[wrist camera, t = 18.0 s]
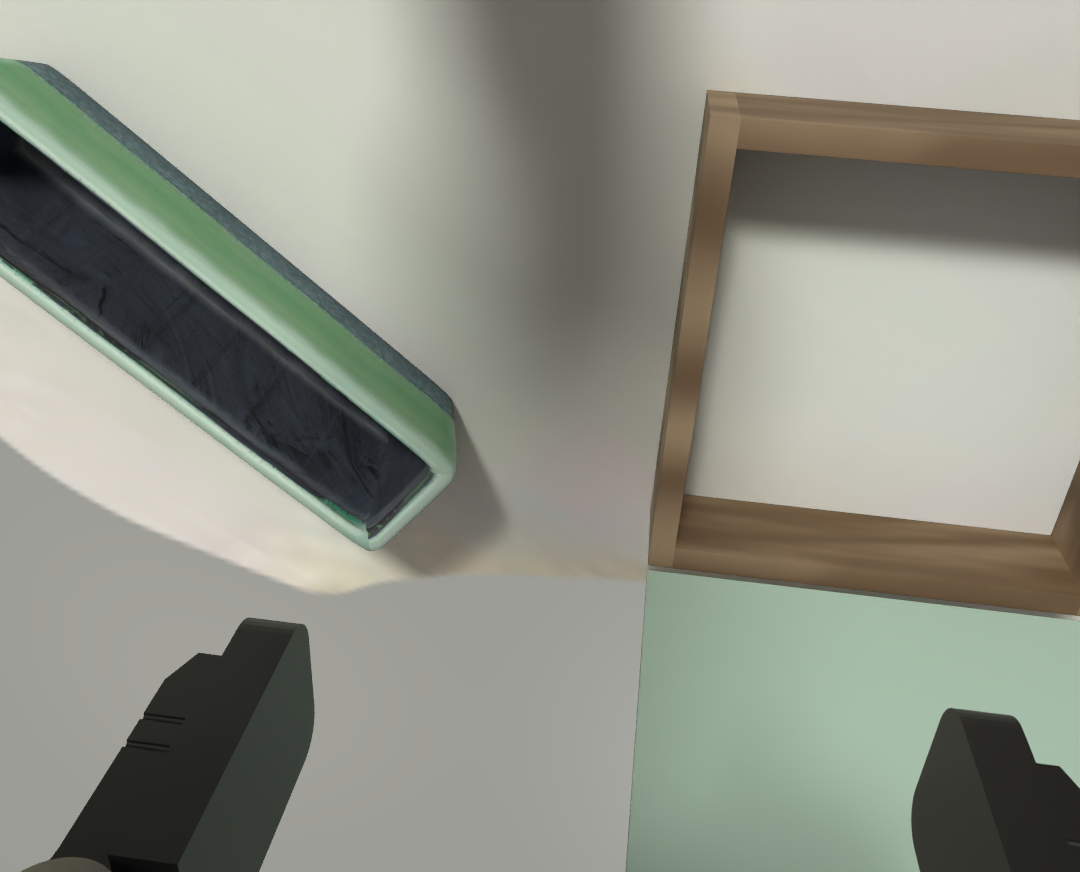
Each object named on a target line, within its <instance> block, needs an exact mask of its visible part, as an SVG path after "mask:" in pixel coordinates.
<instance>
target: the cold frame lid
mask: <svg viewBox="0 0 1080 872" xmlns="http://www.w3.org/2000/svg"><path fill="white" fill-rule="evenodd" d="M644 609H645V610H644V622H643V637H642V650H641V664H640V679H639V692H638V693H639V694H638V706H637V720H636V734H635V748H634V762H633V776H632V777H633V778H632V790H631V804H630V818H629V832H628V845H627V847H628V848H627V860H626V872H920V870H919V866H918V861H917V857H916V853H915V849H914V844H913V839H912V829H911V811H912V802H913V796H914V792H915V789H916V786H917V783H918V780H919V777H920V775H921V772H922V769H923V766H924V764H925V761H926V758H927V755H928V752H929V750H930V747H931V744H932V741H933V738H934V736H935V733H936V730H937V727H938V725H939V722H940V719H941V717H942V715H943V713H944V712H945V711H946V709H948V708H956V709H964V710H972V711H980V712H988V713H996V714H1004V715H1012V716H1014V717H1015V718H1016V719H1017V720H1018V721H1019V723H1020V724H1021V726H1022V729H1023V731H1024V733H1025V736H1026V738H1027V741H1028V744H1029V746H1030V749H1031V751H1032V754H1033V756H1034V759H1035V761H1036V763H1040V764H1048V765H1055V766H1060V767H1061V768H1062V769H1063V770H1064V771H1065V773H1066V774H1067V775H1068V776H1069V777H1070V778H1071V779H1072V780H1073V782H1074V783H1075V784H1076V785H1077V786H1078V787H1079V788H1080V621H1075V620H1067V619H1058V618H1050V617H1041V616H1033V615H1024V614H1016V613H1007V612H999V611H991V610H982V609H974V608H965V607H957V606H948V605H940V604H931V603H923V602H914V601H906V600H897V599H889V598H880V597H872V596H864V595H855V594H847V593H838V592H830V591H821V590H813V589H804V588H796V587H787V586H779V585H770V584H762V583H753V582H745V581H737V580H728V579H720V578H711V577H703V576H694V575H686V574H677V573H669V572H660V571H652V570H648V572H647V580H646V595H645V608H644Z"/></svg>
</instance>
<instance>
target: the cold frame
mask: <svg viewBox="0 0 1080 872" xmlns="http://www.w3.org/2000/svg"><path fill="white" fill-rule="evenodd" d="M736 149H744V150H756V151H768V152H779V153H791V154H803V155H814V156H826V157H838V158H850V159H861V160H873V161H885V162H896V163H908V164H920V165H931V166H943V167H955V168H966V169H978V170H990V171H1001V172H1013V173H1025V174H1036V175H1048V176H1060V177H1072V178H1080V120H1068V119H1056V118H1043V117H1031V116H1019V115H1007V114H994V113H982V112H970V111H957V110H945V109H933V108H920V107H908V106H896V105H884V104H871V103H859V102H847V101H834V100H822V99H810V98H798V97H785V96H773V95H761V94H748V93H736V92H724V91H711V90H707V94H706V102H705V109H704V117H703V124H702V132H701V139H700V146H699V154H698V161H697V169H696V176H695V183H694V191H693V198H692V206H691V213H690V220H689V228H688V235H687V243H686V250H685V257H684V265H683V272H682V280H681V287H680V294H679V302H678V309H677V317H676V324H675V331H674V339H673V346H672V354H671V361H670V368H669V376H668V383H667V391H666V398H665V405H664V413H663V420H662V428H661V435H660V442H659V450H658V457H657V465H656V472H655V479H654V487H653V494H652V502H651V509H650V532H649V555H648V565H651V566H660V567H668V568H677V569H685V570H694V571H702V572H710V573H719V574H727V575H736V576H744V577H753V578H761V579H770V580H778V581H787V582H795V583H804V584H812V585H821V586H829V587H838V588H846V589H855V590H863V591H872V592H880V593H889V594H897V595H906V596H914V597H923V598H931V599H940V600H948V601H957V602H965V603H974V604H982V605H991V606H999V607H1008V608H1016V609H1025V610H1033V611H1042V612H1050V613H1059V614H1067V615H1076V616H1080V462H1079V465H1078V467H1077V470H1076V472H1075V475H1074V477H1073V480H1072V483H1071V485H1070V488H1069V490H1068V493H1067V496H1066V498H1065V501H1064V503H1063V506H1062V509H1061V511H1060V514H1059V516H1058V519H1057V521H1056V524H1055V527H1054V529H1053V532H1052V534H1051V536H1049V535H1040V534H1032V533H1023V532H1014V531H1005V530H996V529H987V528H978V527H969V526H960V525H951V524H942V523H933V522H924V521H916V520H907V519H898V518H889V517H880V516H871V515H862V514H853V513H844V512H835V511H826V510H817V509H809V508H800V507H791V506H782V505H773V504H764V503H755V502H746V501H737V500H728V499H719V498H710V497H701V496H693V495H684V487H685V481H686V474H687V468H688V461H689V455H690V448H691V442H692V435H693V429H694V422H695V416H696V409H697V403H698V396H699V390H700V383H701V377H702V370H703V364H704V357H705V351H706V344H707V338H708V331H709V325H710V318H711V312H712V305H713V299H714V292H715V286H716V279H717V273H718V266H719V260H720V253H721V247H722V240H723V234H724V227H725V221H726V214H727V208H728V201H729V195H730V188H731V182H732V175H733V169H734V162H735V156H736Z"/></svg>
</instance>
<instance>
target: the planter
mask: <svg viewBox="0 0 1080 872" xmlns="http://www.w3.org/2000/svg"><path fill="white" fill-rule="evenodd" d="M0 276H1V277H2V278H3V279H5V280H6V281H7V282H9V283H10V284H11V285H13V286H14V287H15V288H17V289H18V290H19V291H20V292H22V293H23V294H24V295H26V296H27V297H28V298H30V299H31V300H32V301H34V302H35V303H36V304H38V305H39V306H40V307H42V308H43V309H44V310H45V311H47V312H48V313H49V314H51V315H52V316H53V317H55V318H56V319H57V320H59V321H60V322H61V323H63V324H64V325H65V326H67V327H68V328H69V329H71V330H72V331H73V332H75V333H76V334H77V335H79V336H80V337H81V338H82V339H84V340H85V341H86V342H88V343H89V344H90V345H92V346H93V347H94V348H96V349H97V350H98V351H100V352H101V353H102V354H104V355H105V356H106V357H108V358H109V359H110V360H112V361H113V362H114V363H116V364H117V365H118V366H119V367H121V368H122V369H123V370H125V371H126V372H127V373H129V374H130V375H131V376H133V377H134V378H135V379H137V380H138V381H139V382H141V383H142V384H143V385H145V386H146V387H147V388H149V389H150V390H151V391H153V392H154V393H155V394H157V395H158V396H159V397H161V398H162V399H163V400H164V401H166V402H167V403H168V404H170V405H171V406H172V407H174V408H175V409H176V410H178V411H179V412H180V413H182V414H183V415H184V416H186V417H187V418H188V419H190V420H191V421H192V422H194V423H195V424H196V425H198V426H199V427H200V428H202V429H203V430H204V431H206V432H207V433H208V434H210V435H211V436H212V437H213V438H215V439H216V440H217V441H219V442H220V443H221V444H223V445H224V446H225V447H227V448H228V449H229V450H231V451H232V452H233V453H235V454H236V455H237V456H239V457H240V458H241V459H243V460H244V461H245V462H247V463H248V464H249V465H251V466H252V467H253V468H255V469H256V470H257V471H259V472H260V473H261V474H263V475H264V476H265V477H267V478H268V479H269V480H271V481H272V482H273V483H275V484H276V485H277V486H279V487H280V488H281V489H283V490H284V491H285V492H287V493H288V494H289V495H291V496H292V497H293V498H295V499H296V500H297V501H299V502H300V503H301V504H303V505H304V506H305V507H307V508H308V509H309V510H311V511H312V512H313V513H315V514H316V515H317V516H319V517H320V518H321V519H323V520H324V521H325V522H327V523H328V524H329V525H331V526H332V527H333V528H335V529H336V530H337V531H339V532H340V533H342V534H343V535H344V536H346V537H347V538H349V539H350V540H351V541H353V542H354V543H356V544H357V545H359V546H361V547H362V548H364V549H366V550H368V551H373V550H377V549H380V548H382V547H383V546H384V545H385V544H386V543H388V542H389V541H390V540H391V539H392V538H393V537H394V536H395V535H396V534H397V533H399V532H400V531H401V530H402V529H403V528H404V527H405V526H406V525H407V524H408V523H409V522H410V521H411V520H413V519H414V518H415V517H416V516H417V515H418V514H419V513H420V512H421V511H422V510H423V509H424V508H425V507H426V506H427V505H428V504H429V503H430V502H432V501H433V500H434V499H435V498H436V497H437V496H438V495H439V494H440V493H441V492H442V491H443V490H444V489H445V488H446V487H447V486H448V485H449V484H450V483H451V481H452V480H453V479H454V476H455V473H456V467H457V450H456V434H455V422H454V412H453V404H452V400H451V398H450V397H449V396H448V395H447V394H446V393H445V392H444V391H443V390H442V389H441V388H440V387H439V386H437V385H436V384H435V383H434V382H433V381H432V380H431V379H430V378H428V377H427V376H426V375H425V374H424V373H422V372H421V371H420V370H419V369H418V368H416V367H415V366H414V365H413V364H412V363H410V362H409V361H408V360H407V359H406V358H404V357H403V356H402V355H401V354H400V353H399V352H397V351H396V350H395V349H394V348H393V347H391V346H390V345H389V344H388V343H387V342H385V341H384V340H383V339H382V338H381V337H379V336H378V335H377V334H376V333H375V332H373V331H372V330H371V329H370V328H369V327H367V326H366V325H365V324H364V323H363V322H361V321H360V320H359V319H358V318H357V317H355V316H354V315H353V314H352V313H351V312H349V311H348V310H347V309H346V308H345V307H343V306H342V305H341V304H340V303H339V302H337V301H336V300H335V299H334V298H332V297H331V296H330V295H329V294H328V293H326V292H325V291H324V290H323V289H322V288H320V287H319V286H318V285H317V284H316V283H314V282H313V281H312V280H311V279H310V278H308V277H307V276H306V275H305V274H304V273H302V272H301V271H300V270H299V269H298V268H296V267H295V266H294V265H293V264H292V263H290V262H289V261H288V260H287V259H286V258H284V257H283V256H282V255H281V254H280V253H278V252H277V251H276V250H275V249H274V248H272V247H271V246H270V245H269V244H268V243H266V242H265V241H264V240H263V239H261V238H260V237H259V236H258V235H257V234H255V233H254V232H253V231H252V230H251V229H249V228H248V227H247V226H246V225H245V224H243V223H242V222H241V221H240V220H239V219H237V218H236V217H235V216H234V215H233V214H231V213H230V212H229V211H228V210H226V209H225V208H224V207H223V206H222V205H220V204H219V203H218V202H217V201H216V200H214V199H213V198H212V197H211V196H210V195H208V194H207V193H206V192H205V191H204V190H202V189H201V188H200V187H199V186H198V185H196V184H195V183H194V182H193V181H192V180H190V179H189V178H188V177H187V176H185V175H184V174H183V173H182V172H181V171H179V170H178V169H177V168H176V167H175V166H173V165H172V164H171V163H170V162H169V161H167V160H166V159H165V158H164V157H163V156H161V155H160V154H159V153H158V152H156V151H155V150H154V149H153V148H152V147H150V146H149V145H148V144H147V143H146V142H144V141H143V140H142V139H141V138H140V137H138V136H137V135H136V134H135V133H133V132H132V131H131V130H130V129H129V128H127V127H126V126H125V125H124V124H123V123H121V122H120V121H119V120H118V119H117V118H115V117H114V116H113V115H112V114H110V113H109V112H108V111H107V110H106V109H104V108H103V107H102V106H101V105H99V104H98V103H97V102H96V101H95V100H93V99H92V98H91V97H90V96H88V95H87V94H86V93H85V92H84V91H82V90H81V89H80V88H79V87H77V86H76V85H75V84H74V83H72V82H71V81H70V80H69V79H67V78H66V77H65V76H63V75H62V74H61V73H60V72H58V71H57V70H55V69H54V68H52V67H51V66H49V65H47V64H42V63H35V62H28V61H21V60H13V59H5V58H0Z"/></svg>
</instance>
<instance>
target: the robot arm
mask: <svg viewBox="0 0 1080 872" xmlns="http://www.w3.org/2000/svg"><path fill="white" fill-rule="evenodd" d="M313 726H314V698H313V685H312V673H311V661H310V648H309V636H308V631H307V628H306V626H305V625H303V624H296V623H287V622H280V621H272V620H264V619H256V618H246V619H245V620H243V622H242V623H241V624H240V625H239V627H238V629H237V630H236V632H235V634H234V636H233V637H232V639H231V641H230V643H229V644H228V646H227V648H226V649H225V651H224V653H223V655H222V656H218V655H211V654H204V653H198V654H197V655H195V656H194V657H193V658H192V659H190V660H189V661H188V662H187V663H185V664H184V665H183V666H182V667H180V668H179V669H178V670H176V671H175V672H174V673H173V674H171V675H170V676H169V677H168V678H166V679H165V680H164V682H163V683H162V685H161V686H160V688H159V690H158V691H157V693H156V694H155V696H154V698H153V699H152V701H151V702H150V704H149V706H148V707H147V709H146V710H145V712H144V717H143V719H140V720H139V721H138V723H137V725H136V726H135V728H134V729H133V731H132V733H131V734H130V736H129V737H128V739H127V744H126V746H125V747H122V748H121V750H120V752H119V753H118V755H117V756H116V758H115V760H114V761H113V763H112V764H111V766H110V768H109V769H108V771H107V772H106V774H105V775H104V777H103V779H102V780H101V782H100V783H99V785H98V786H97V788H96V790H95V791H94V793H93V794H92V796H91V798H90V799H89V801H88V802H87V804H86V806H85V807H84V809H83V810H82V812H81V813H80V815H79V817H78V818H77V820H76V822H75V823H74V825H73V826H72V828H71V829H70V831H69V832H68V834H67V836H66V837H65V839H64V840H63V842H62V844H61V845H60V847H59V848H58V850H57V851H56V852H55V854H54V855H53V857H52V858H51V859H50V860H48V861H45V862H41V863H38V864H36V865H34V866H31V867H29V868H27V869H25V870H23V871H21V872H259V870H260V868H261V865H262V863H263V860H264V858H265V856H266V853H267V851H268V849H269V846H270V844H271V841H272V839H273V837H274V834H275V832H276V829H277V827H278V825H279V822H280V820H281V817H282V815H283V812H284V810H285V808H286V805H287V803H288V800H289V798H290V796H291V793H292V791H293V788H294V786H295V783H296V781H297V779H298V776H299V774H300V772H301V769H302V767H303V764H304V762H305V759H306V757H307V753H308V750H309V747H310V743H311V738H312V733H313ZM911 829H912V839H913V844H914V849H915V853H916V857H917V861H918V866H919V870H920V872H1080V788H1079V787H1078V786H1077V785H1076V784H1075V783H1074V782H1073V780H1072V779H1071V778H1070V777H1069V776H1068V775H1067V774H1066V773H1065V771H1064V770H1063V769H1062V768H1061V767H1060V766H1055V765H1048V764H1040V763H1036V761H1035V759H1034V756H1033V754H1032V751H1031V749H1030V746H1029V744H1028V741H1027V738H1026V736H1025V733H1024V731H1023V729H1022V726H1021V724H1020V723H1019V721H1018V720H1017V719H1016V718H1015V717H1014V716H1012V715H1004V714H996V713H988V712H980V711H972V710H964V709H956V708H948V709H946V711H945V712H944V713H943V715H942V717H941V719H940V722H939V725H938V727H937V730H936V733H935V736H934V738H933V741H932V744H931V747H930V750H929V752H928V755H927V758H926V761H925V764H924V766H923V769H922V772H921V775H920V777H919V780H918V783H917V786H916V789H915V792H914V796H913V802H912V811H911Z"/></svg>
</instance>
